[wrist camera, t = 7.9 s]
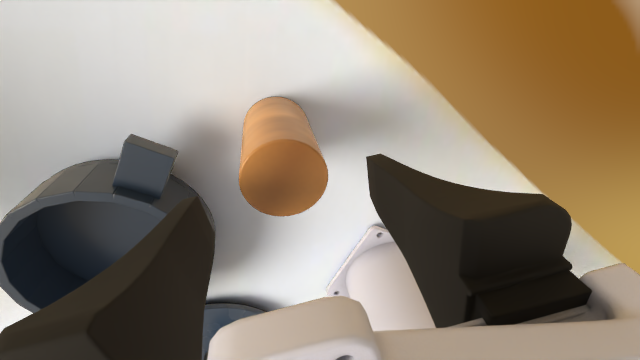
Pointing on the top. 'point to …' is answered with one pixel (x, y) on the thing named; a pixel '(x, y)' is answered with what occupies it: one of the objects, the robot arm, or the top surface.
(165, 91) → the top surface
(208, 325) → the lid
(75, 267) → the pot
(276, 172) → the peg
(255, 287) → the top surface
